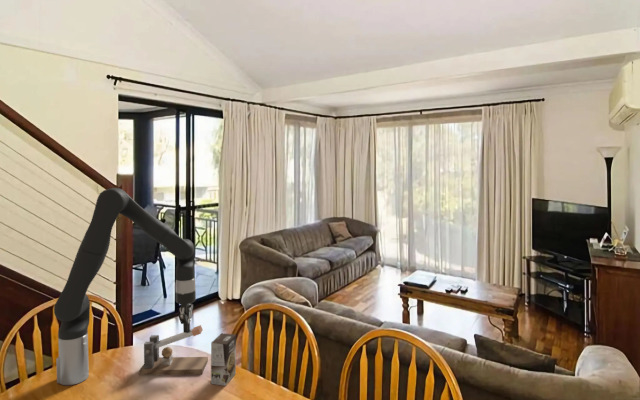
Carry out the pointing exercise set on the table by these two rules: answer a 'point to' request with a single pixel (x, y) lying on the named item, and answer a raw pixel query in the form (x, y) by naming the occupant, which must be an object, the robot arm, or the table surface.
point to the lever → (178, 337)
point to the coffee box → (223, 359)
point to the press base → (177, 366)
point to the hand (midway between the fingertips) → (186, 331)
